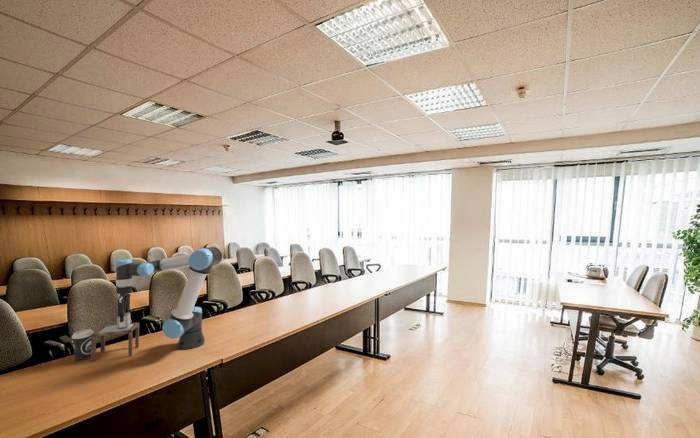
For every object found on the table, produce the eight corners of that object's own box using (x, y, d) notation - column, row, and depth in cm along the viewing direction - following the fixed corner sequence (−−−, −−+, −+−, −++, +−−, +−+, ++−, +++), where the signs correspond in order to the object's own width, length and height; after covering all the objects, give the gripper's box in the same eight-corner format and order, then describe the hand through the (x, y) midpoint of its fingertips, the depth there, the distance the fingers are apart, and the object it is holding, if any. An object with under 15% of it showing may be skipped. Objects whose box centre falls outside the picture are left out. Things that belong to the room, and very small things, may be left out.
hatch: (133, 325, 179) (133, 323, 179) (127, 331, 169) (127, 329, 169) (104, 328, 174) (104, 326, 174) (96, 335, 164) (96, 333, 164)
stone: (130, 324, 176) (130, 312, 176) (127, 327, 171) (127, 314, 171) (119, 325, 174) (120, 313, 174) (116, 328, 169) (117, 315, 170)
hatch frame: (138, 346, 181) (139, 322, 181) (131, 356, 168) (131, 330, 168) (101, 351, 174) (102, 326, 175) (91, 362, 161) (91, 334, 162)
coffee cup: (91, 353, 172) (91, 327, 172) (96, 357, 167) (96, 331, 167) (69, 359, 165) (69, 332, 165) (73, 364, 159) (73, 336, 159)
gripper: (121, 283, 180) (121, 321, 180) (110, 289, 163) (110, 331, 163) (136, 282, 183) (136, 319, 183) (126, 288, 166) (126, 329, 166)
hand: (124, 325), depth 173 cm, fingers closed on stone, 5 cm apart
